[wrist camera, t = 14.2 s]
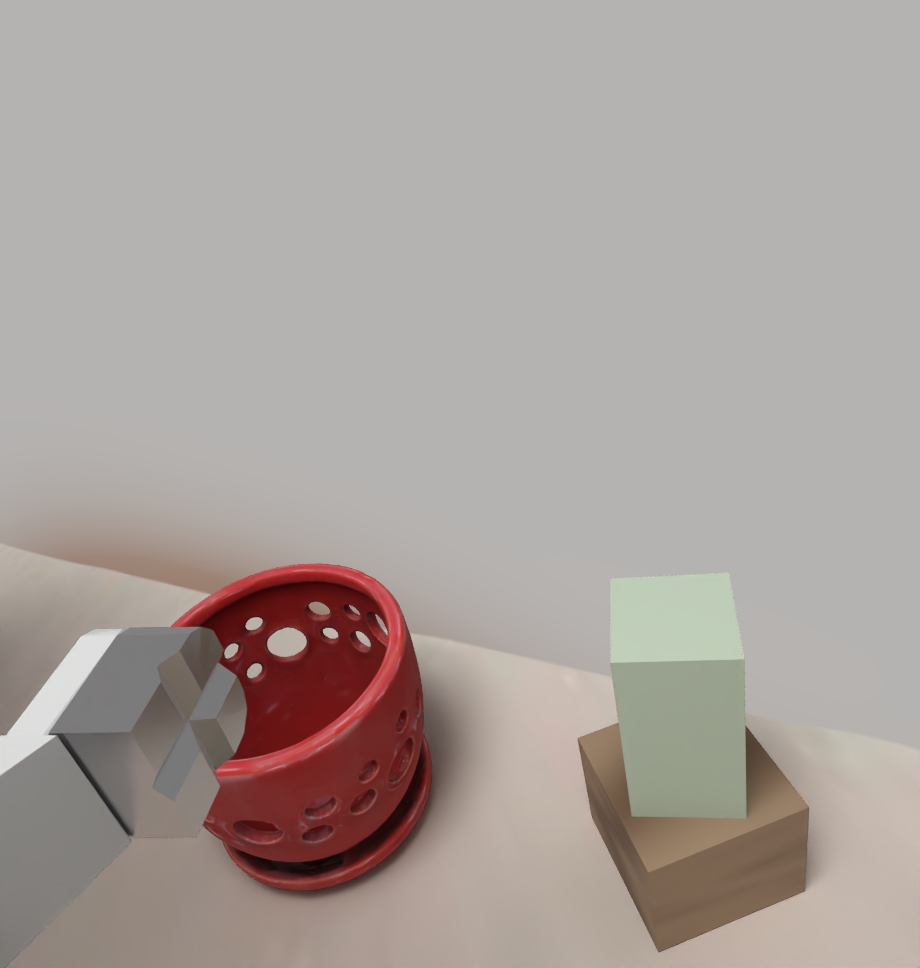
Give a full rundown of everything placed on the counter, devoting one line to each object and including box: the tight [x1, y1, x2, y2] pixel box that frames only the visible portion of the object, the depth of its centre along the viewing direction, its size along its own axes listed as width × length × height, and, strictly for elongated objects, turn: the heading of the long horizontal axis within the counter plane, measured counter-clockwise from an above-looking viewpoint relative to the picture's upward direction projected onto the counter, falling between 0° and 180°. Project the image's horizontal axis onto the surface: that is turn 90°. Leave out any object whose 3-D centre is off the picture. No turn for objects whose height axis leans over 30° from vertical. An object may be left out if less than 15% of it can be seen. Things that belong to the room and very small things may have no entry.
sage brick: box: [610, 573, 747, 819], centre depth 32 cm, size 4×4×9 cm
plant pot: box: [171, 564, 432, 890], centre depth 41 cm, size 13×13×12 cm
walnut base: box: [578, 723, 809, 952], centre depth 36 cm, size 7×7×6 cm
